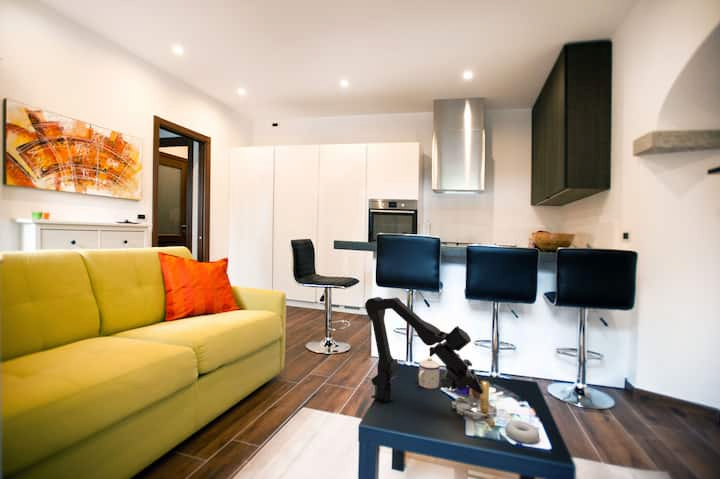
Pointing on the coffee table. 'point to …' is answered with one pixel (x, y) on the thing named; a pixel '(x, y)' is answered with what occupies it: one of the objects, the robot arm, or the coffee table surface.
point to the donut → (522, 432)
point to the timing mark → (490, 421)
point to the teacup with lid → (429, 374)
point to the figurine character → (466, 389)
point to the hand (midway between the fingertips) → (481, 393)
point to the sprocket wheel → (476, 404)
